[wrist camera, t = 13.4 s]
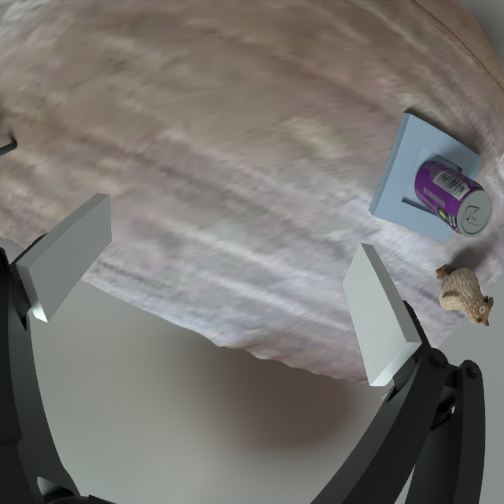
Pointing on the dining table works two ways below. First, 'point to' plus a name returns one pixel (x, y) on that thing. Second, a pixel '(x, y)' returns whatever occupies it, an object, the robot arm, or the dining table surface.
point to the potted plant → (7, 148)
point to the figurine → (464, 294)
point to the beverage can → (453, 198)
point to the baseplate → (406, 168)
